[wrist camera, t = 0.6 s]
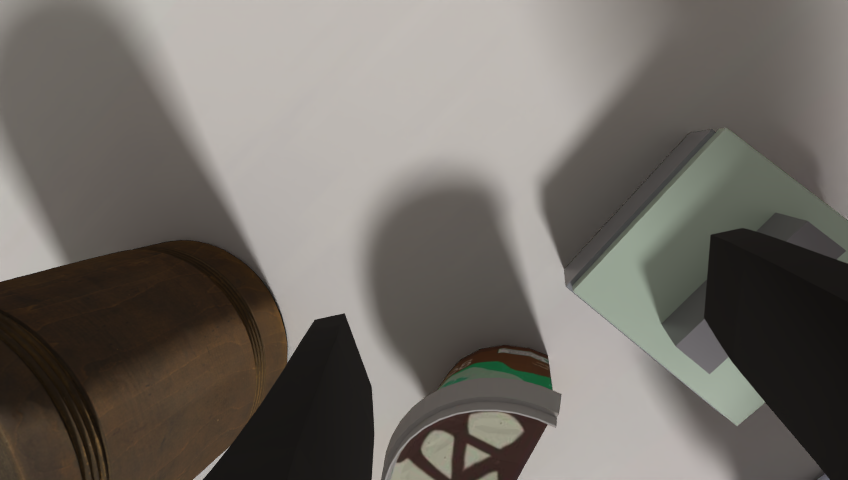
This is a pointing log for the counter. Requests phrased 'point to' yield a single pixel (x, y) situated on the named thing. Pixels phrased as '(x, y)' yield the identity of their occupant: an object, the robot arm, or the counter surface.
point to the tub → (636, 211)
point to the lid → (702, 261)
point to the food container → (477, 419)
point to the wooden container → (133, 363)
